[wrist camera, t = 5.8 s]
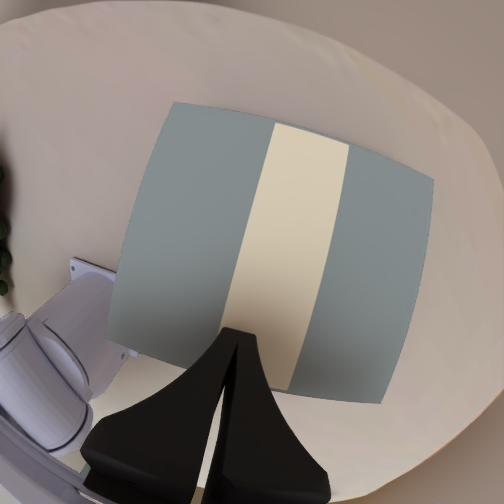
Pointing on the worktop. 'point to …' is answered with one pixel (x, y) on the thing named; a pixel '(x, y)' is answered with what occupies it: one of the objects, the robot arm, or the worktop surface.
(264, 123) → the lid
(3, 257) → the toy figurine
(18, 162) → the worktop surface
